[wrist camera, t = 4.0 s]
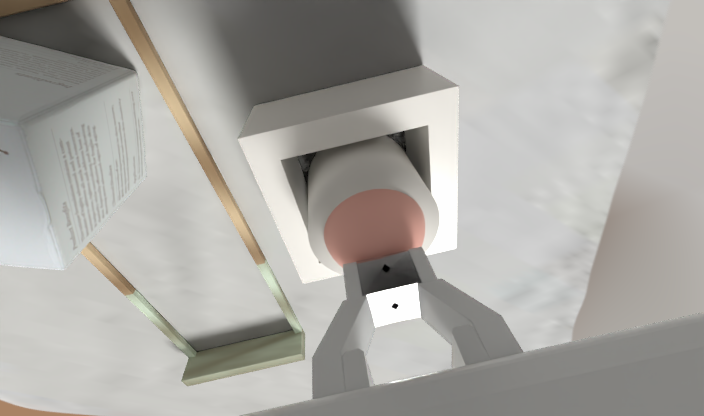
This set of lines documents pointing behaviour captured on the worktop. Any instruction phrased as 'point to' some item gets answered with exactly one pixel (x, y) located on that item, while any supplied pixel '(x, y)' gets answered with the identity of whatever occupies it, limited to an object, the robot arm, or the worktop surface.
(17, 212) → the product box
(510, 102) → the worktop surface
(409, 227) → the white pink rounded piece
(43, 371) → the worktop surface
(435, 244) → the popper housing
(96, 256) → the track
